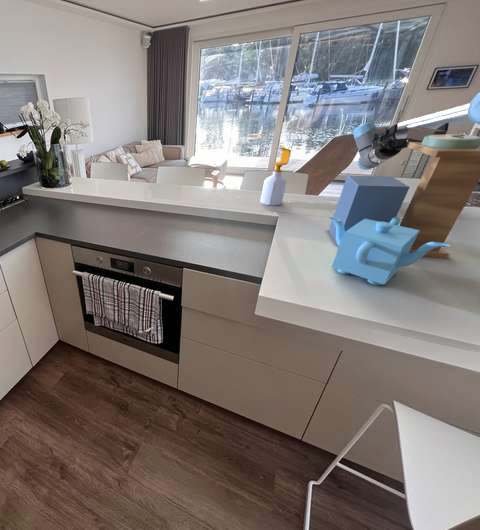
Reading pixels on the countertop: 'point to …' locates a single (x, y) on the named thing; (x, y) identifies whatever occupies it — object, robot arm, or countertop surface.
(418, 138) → the clock
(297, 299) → the countertop surface
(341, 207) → the slate blue block
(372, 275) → the teakettle
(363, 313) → the countertop surface
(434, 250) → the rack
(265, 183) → the soap bottle
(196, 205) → the countertop surface
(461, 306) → the countertop surface
